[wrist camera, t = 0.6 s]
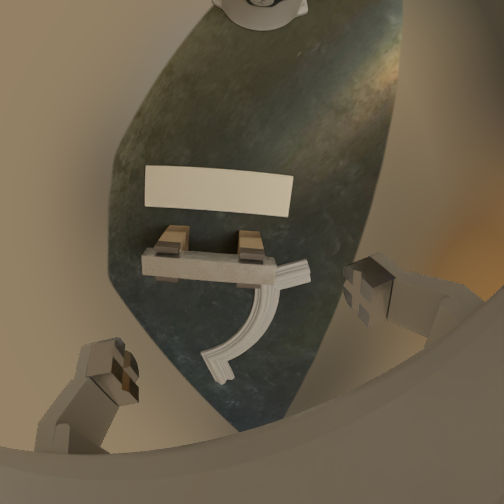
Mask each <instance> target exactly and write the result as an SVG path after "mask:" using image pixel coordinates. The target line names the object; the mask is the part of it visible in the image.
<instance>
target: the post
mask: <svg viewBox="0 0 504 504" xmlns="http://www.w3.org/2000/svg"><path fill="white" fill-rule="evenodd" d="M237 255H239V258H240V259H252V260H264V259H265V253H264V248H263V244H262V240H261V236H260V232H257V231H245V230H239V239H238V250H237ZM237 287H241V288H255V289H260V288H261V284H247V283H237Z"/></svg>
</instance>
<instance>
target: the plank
mask: <svg viewBox="0 0 504 504" xmlns="http://www.w3.org/2000/svg"><path fill="white" fill-rule="evenodd" d="M292 184H293V176H289V175H281V174H273V173H264V172H254V171H244V170H233V169H220V168H205V167H187V166H159V165H146V171H145V206H149V207H168V208H184V209H199V210H213V211H226V212H238V213H250V214H261V215H271V216H282V217H288V212H289V205H290V198H291V191H292Z"/></svg>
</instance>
